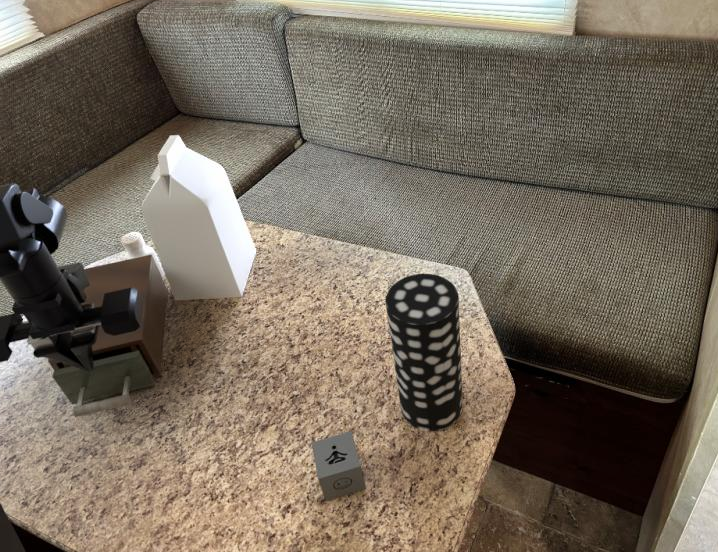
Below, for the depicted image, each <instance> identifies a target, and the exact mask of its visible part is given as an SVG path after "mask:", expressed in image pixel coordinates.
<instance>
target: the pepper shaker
mask: <svg viewBox="0 0 718 552" xmlns="http://www.w3.org/2000/svg"><path fill="white" fill-rule="evenodd" d="M120 241H121V244H122V246H123V247H124V250H125V251H126V253H125V254H124V256H123V260H128V259H133V258H137V257H142V256H147V255H152V256H153V258H154V261H155V263H156V265H157V267H158V269H159V271H160V274H161V276H162V278H163V279H164V277H166V275H165V272H164V269H163V267H162V264H161V262H160V259H159V257H158V255H157V253H156V250H154V248H152V247H151V246H149V245H147V244H146V242H145V240H144V238H143V236H142V234H141V233H140V232H139V231H131V232H128V233H126V234H125V235H123V236H122V237H121V240H120Z"/></svg>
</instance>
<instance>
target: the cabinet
mask: <svg viewBox="0 0 718 552" xmlns="http://www.w3.org/2000/svg"><path fill="white" fill-rule="evenodd" d="M84 270H85V273H86V275H87V278H88V281H89V284H90V285H89V286H87V287H86V288H85V289H84V290H83V291H84V292H85V294H86V296H87V297H86V301H85V302H84V303H81V305H85V304H90V303H93V304H94V308H95V307H100V306H102V303H103V298H104V294H105V293H108V292H113V291H117V290H122V289H126V288H131V287H132V288H135V289H137V290H138V291H140V293H141V295H142V297H143V299H144V302H143V310H142V318H141V326H140V328H138V329H137V330H136V331H133V332H129V333H125V334H120V335H116V336H113V335H110V334H107V333H105V332H104V330H103V328H102V326H101V325H99V330H98V335H97V340H96V343H95V344H93V345H92V351H93V355H95V354H99V353H104V352H108V351H112V350H116V349H121V348H125V347H129V346H133V345H139V347H140V349H141V351H142V352H143V354H144V356H145V358H146V360H147V362H148V364H149V365H150V372H151V373H152V375H153V377H154V379H156V378H159V377H162V371H163V361H164V360H163V359H164V348H165V347H164V346H165V336H166V335H165V333H166V321H167V320H166V319H167V308H168V295H169V289H168V287H167V285H166V283H165V281H164V277H163V278H162V276H161V274H160V271H159V269H158V267H157V265H156V263H155V261H154V258H153V256H152V255H147V256H142V257H137V258H133V259H128V260H125V259H123V260H119V261H115V262H109V263H106V264H101V265H97V266H92V267H87V268H84ZM70 333H71V332H70ZM71 335H72V336H73V333H71ZM47 362H48V364H49V365H50V367H51V368H52V370H53V371H54V370H58V369H62V368H65V367H64V365H63V364H62V362H59V361H55V360H52V359H48V358H47Z"/></svg>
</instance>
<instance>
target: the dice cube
mask: <svg viewBox="0 0 718 552" xmlns="http://www.w3.org/2000/svg"><path fill="white" fill-rule="evenodd" d="M310 444H311V450H312V453H313V459H314V463H315V464H314V465H315V469H316V475H317V480H318V483H319V486H320V489H321V492H322V495H323V497H324V501H325V502H327V501H330V500H333V499H336V498H340V497H343V496H346V495H350V494H353V493H356V492H360V491H363V490H366V489H367V486H366V482H365V478H364V473H363V471H362V467H361V466H362V465H361V462H360V457H359V455H358V449H357V447H356V441H355V439H354V435H353V431H352V430H348V431H346V432H342V433H338V434H335V435H331V436H328V437H325V438H321V439H318V440H315V441H311V443H310Z"/></svg>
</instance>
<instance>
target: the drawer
mask: <svg viewBox="0 0 718 552" xmlns="http://www.w3.org/2000/svg"><path fill="white" fill-rule="evenodd" d="M93 362H94V366H93V370H91V371H84V370H81V369H78V368H76V367H73V366H71V365H68V364H65V363H62V364H63V365H64V367H65V368H62V369H58V370H53V372H52V376H51V377H52V378H53V380H54V381H55V383H56V384H57V386H58V387H59V388H60V390H61V392H62V393H63V394H64V395H65V397H66V398H67V400H68V401H69V402H70V404H71V405H76V406H74V407H73V408H72V414H73V417H74V418H79V417H84V416H88V415H91V414H96V413H101V412H104V411H108V410H112V409H117V408H120V407H124V406H128V405H130V404H131V395H130V392H131V391H135V390H138V389H143V388H147V387H152V386H154V385H155V378H154V377H153V375H152V373H151V372H150V365H149V364H148V362H147V360H146V358H145V356H144V354H143V352H142V351H141V349H140V347H139V345H133V346H129V347H125V348H121V349H116V350H112V351H108V352H104V353H99V354H95V355H93ZM118 394H122V395H118ZM114 395H118V396H114ZM110 396H114V397H110ZM105 397H106V399H103V398H105ZM107 397H110V398H107ZM97 399H101V400H97ZM93 400H97V401H94V402H90V401H93ZM86 402H88V403H86ZM84 403H85V404H84Z"/></svg>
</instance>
